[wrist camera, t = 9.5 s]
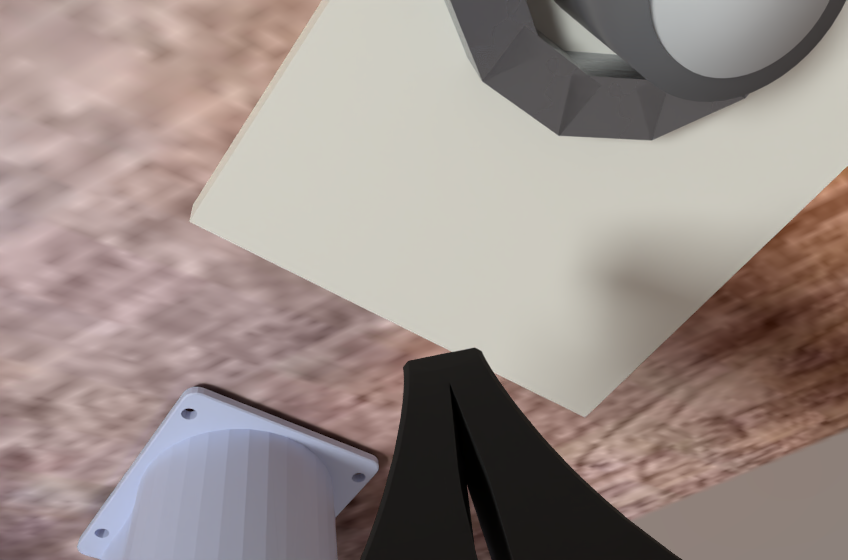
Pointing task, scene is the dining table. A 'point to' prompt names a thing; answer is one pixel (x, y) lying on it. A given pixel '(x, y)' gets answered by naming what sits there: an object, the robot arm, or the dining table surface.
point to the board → (512, 194)
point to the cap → (707, 40)
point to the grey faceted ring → (566, 78)
